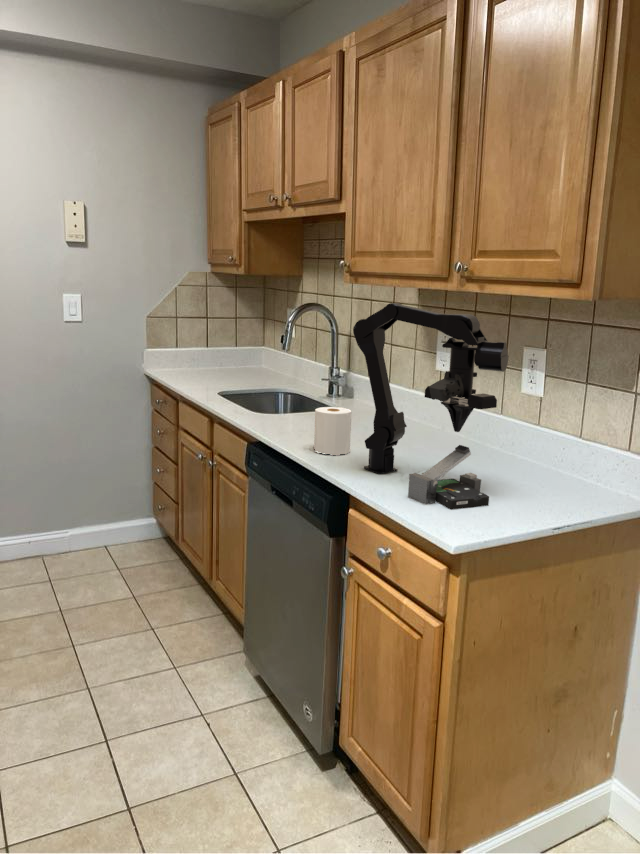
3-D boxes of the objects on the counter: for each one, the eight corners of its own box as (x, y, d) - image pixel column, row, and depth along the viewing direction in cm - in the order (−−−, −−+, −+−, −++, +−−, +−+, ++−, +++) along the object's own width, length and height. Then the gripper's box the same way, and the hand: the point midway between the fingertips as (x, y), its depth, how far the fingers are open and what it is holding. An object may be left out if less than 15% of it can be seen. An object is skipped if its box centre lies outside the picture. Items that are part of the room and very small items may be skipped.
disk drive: (489, 508, 160) (452, 488, 173) (490, 496, 159) (453, 477, 172) (450, 512, 155) (415, 492, 169) (451, 500, 155) (416, 480, 168)
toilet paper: (355, 454, 200) (357, 412, 197) (321, 456, 196) (322, 413, 194) (341, 446, 209) (343, 406, 206) (308, 448, 205) (310, 407, 203)
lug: (458, 488, 171) (460, 472, 171) (464, 486, 173) (466, 471, 172) (474, 493, 167) (475, 477, 167) (480, 492, 169) (481, 476, 168)
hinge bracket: (407, 496, 163) (408, 473, 162) (416, 494, 165) (418, 472, 164) (426, 504, 158) (428, 481, 157) (436, 502, 160) (438, 479, 159)
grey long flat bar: (420, 479, 163) (418, 473, 162) (459, 450, 168) (458, 444, 168) (432, 483, 160) (430, 478, 159) (472, 453, 165) (470, 448, 164)
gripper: (409, 364, 172) (406, 427, 175) (467, 374, 157) (462, 443, 160) (442, 362, 178) (438, 423, 181) (500, 372, 163) (495, 438, 167)
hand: (457, 431), depth 172 cm, fingers closed
